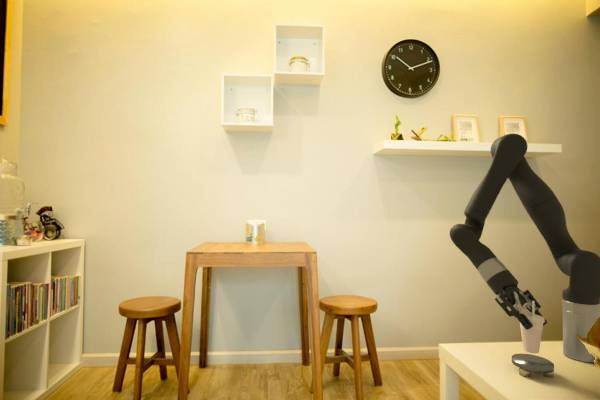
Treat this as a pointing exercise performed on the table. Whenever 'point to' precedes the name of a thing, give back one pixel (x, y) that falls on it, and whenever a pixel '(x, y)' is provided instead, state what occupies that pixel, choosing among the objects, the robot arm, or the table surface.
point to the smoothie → (532, 332)
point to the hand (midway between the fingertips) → (537, 326)
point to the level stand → (533, 365)
